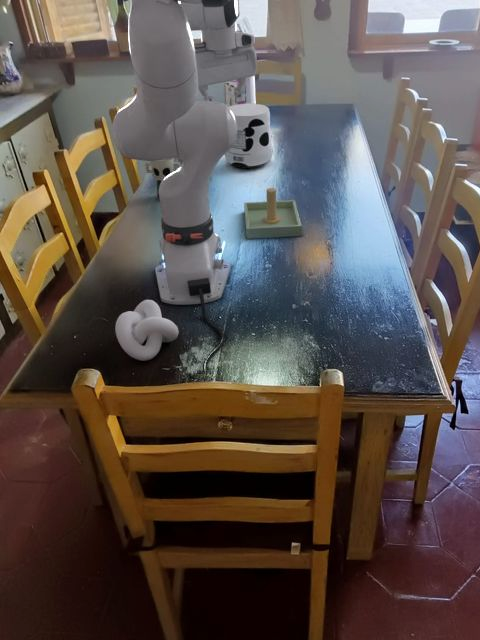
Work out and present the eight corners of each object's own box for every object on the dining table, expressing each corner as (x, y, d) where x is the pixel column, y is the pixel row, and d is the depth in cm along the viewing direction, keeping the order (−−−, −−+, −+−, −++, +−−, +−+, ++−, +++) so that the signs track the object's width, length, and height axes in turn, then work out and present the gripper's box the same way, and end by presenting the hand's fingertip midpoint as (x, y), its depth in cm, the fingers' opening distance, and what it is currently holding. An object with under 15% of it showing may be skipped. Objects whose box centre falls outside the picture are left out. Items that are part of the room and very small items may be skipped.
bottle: (249, 105, 247) (246, 31, 228) (259, 108, 242) (257, 33, 223) (235, 108, 243) (231, 33, 224) (245, 111, 238) (242, 36, 219)
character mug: (148, 202, 163) (140, 160, 155) (153, 193, 169) (146, 152, 161) (182, 202, 163) (177, 160, 155) (186, 192, 168) (181, 152, 160)
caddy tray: (301, 235, 143) (302, 201, 137) (246, 238, 143) (244, 204, 136) (294, 209, 156) (295, 176, 150) (244, 212, 156) (242, 179, 150)
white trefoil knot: (185, 330, 111) (180, 294, 106) (175, 367, 102) (168, 330, 97) (133, 329, 112) (125, 294, 107) (118, 366, 103) (108, 329, 97)
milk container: (265, 152, 196) (264, 100, 184) (278, 168, 183) (278, 113, 171) (220, 157, 192) (216, 105, 181) (230, 174, 179) (226, 119, 168)
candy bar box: (248, 128, 219) (246, 85, 209) (237, 130, 217) (234, 87, 207) (237, 121, 227) (235, 79, 217) (227, 123, 225) (224, 81, 215)
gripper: (189, 47, 121) (196, 110, 130) (259, 35, 131) (261, 95, 139) (175, 43, 125) (183, 105, 134) (244, 33, 135) (247, 91, 143)
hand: (223, 100), depth 137 cm, fingers open, 8 cm apart
